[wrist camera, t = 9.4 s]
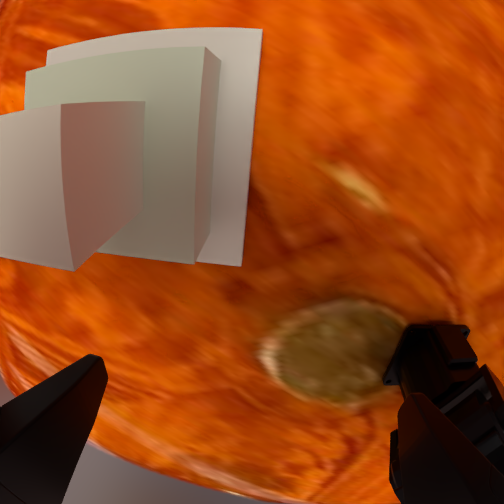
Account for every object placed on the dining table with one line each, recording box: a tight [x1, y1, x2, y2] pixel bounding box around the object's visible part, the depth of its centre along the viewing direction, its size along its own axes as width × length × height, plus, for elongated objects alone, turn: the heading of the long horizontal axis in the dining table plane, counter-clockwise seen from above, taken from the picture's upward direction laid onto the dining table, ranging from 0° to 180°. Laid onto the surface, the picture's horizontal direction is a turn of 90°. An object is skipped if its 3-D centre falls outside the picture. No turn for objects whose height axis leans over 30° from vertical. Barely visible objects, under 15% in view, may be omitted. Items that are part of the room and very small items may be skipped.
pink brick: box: [0, 101, 145, 271], centre depth 10 cm, size 5×5×6 cm
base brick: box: [24, 46, 221, 264], centre depth 15 cm, size 10×10×4 cm
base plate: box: [46, 27, 263, 267], centre depth 17 cm, size 14×14×1 cm
